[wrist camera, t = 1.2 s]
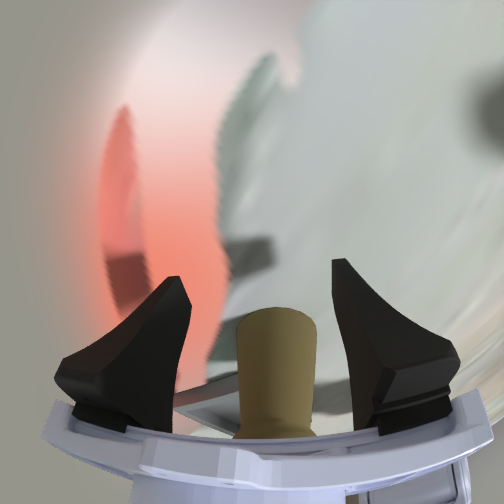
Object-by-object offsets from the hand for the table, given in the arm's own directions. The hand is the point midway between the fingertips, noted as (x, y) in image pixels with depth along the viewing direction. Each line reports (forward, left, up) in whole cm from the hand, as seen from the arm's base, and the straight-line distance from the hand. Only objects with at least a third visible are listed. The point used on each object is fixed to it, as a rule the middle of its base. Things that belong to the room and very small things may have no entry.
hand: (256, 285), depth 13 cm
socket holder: (-15, +14, -3) cm, 21 cm away
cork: (-7, +4, -4) cm, 9 cm away
